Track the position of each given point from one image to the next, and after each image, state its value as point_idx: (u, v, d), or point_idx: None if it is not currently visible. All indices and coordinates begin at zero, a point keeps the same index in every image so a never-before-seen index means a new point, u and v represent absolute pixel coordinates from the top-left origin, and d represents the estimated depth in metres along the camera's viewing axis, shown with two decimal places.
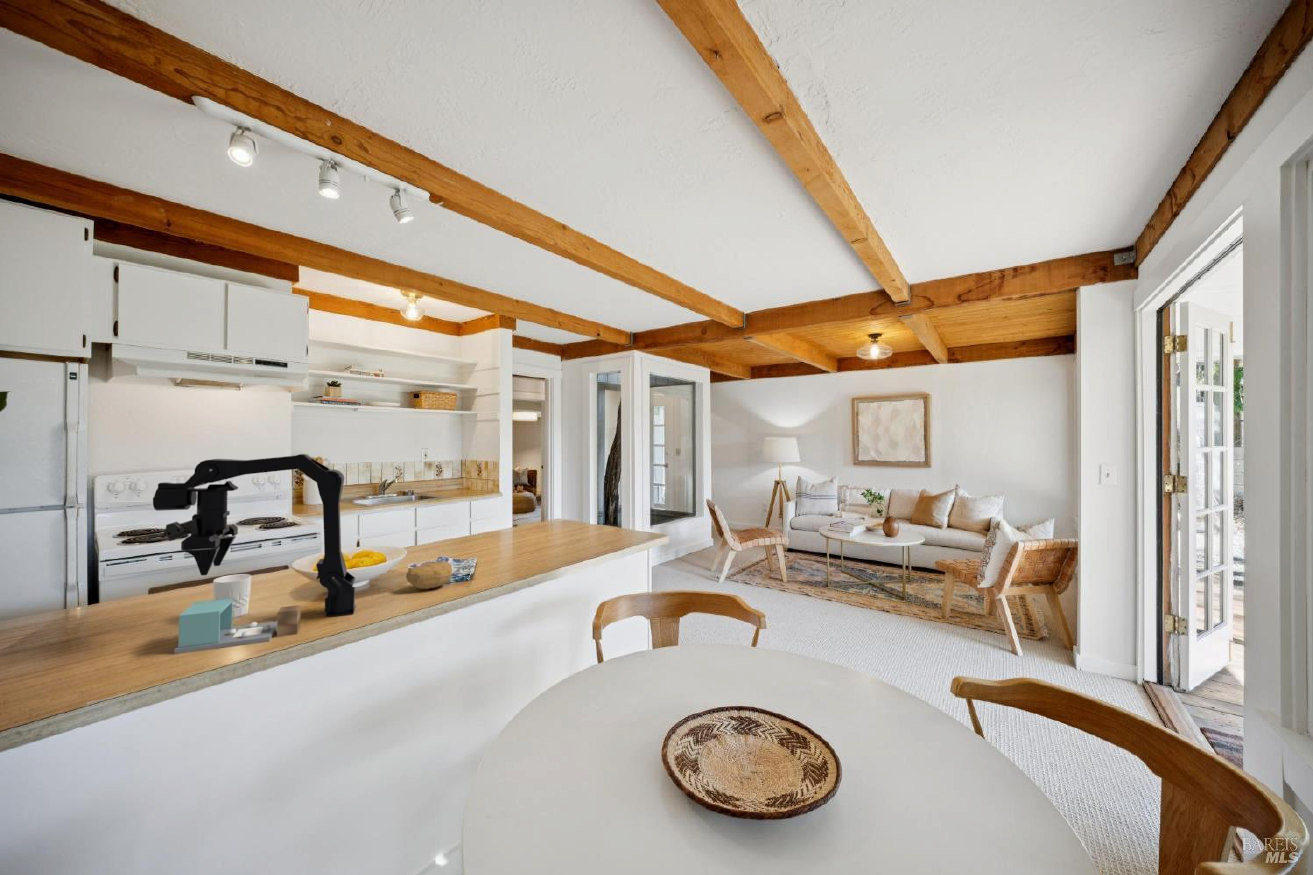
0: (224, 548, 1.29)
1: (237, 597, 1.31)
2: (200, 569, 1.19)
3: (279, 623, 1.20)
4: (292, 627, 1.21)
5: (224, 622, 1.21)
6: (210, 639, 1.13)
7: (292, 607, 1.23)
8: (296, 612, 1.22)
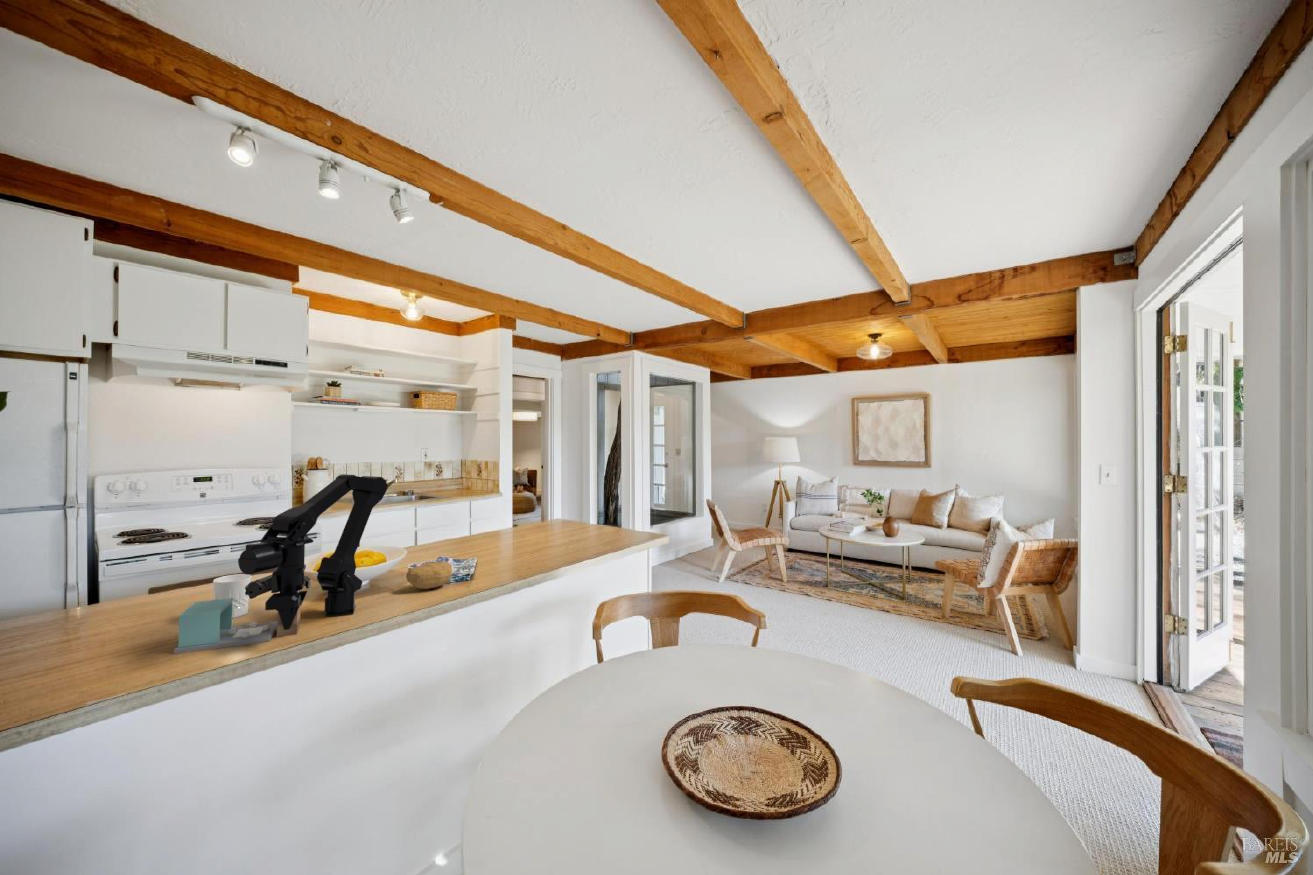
0: None
1: (237, 597, 1.31)
2: (283, 624, 1.20)
3: (279, 622, 1.20)
4: (292, 627, 1.21)
5: (224, 622, 1.21)
6: (210, 639, 1.13)
7: None
8: None
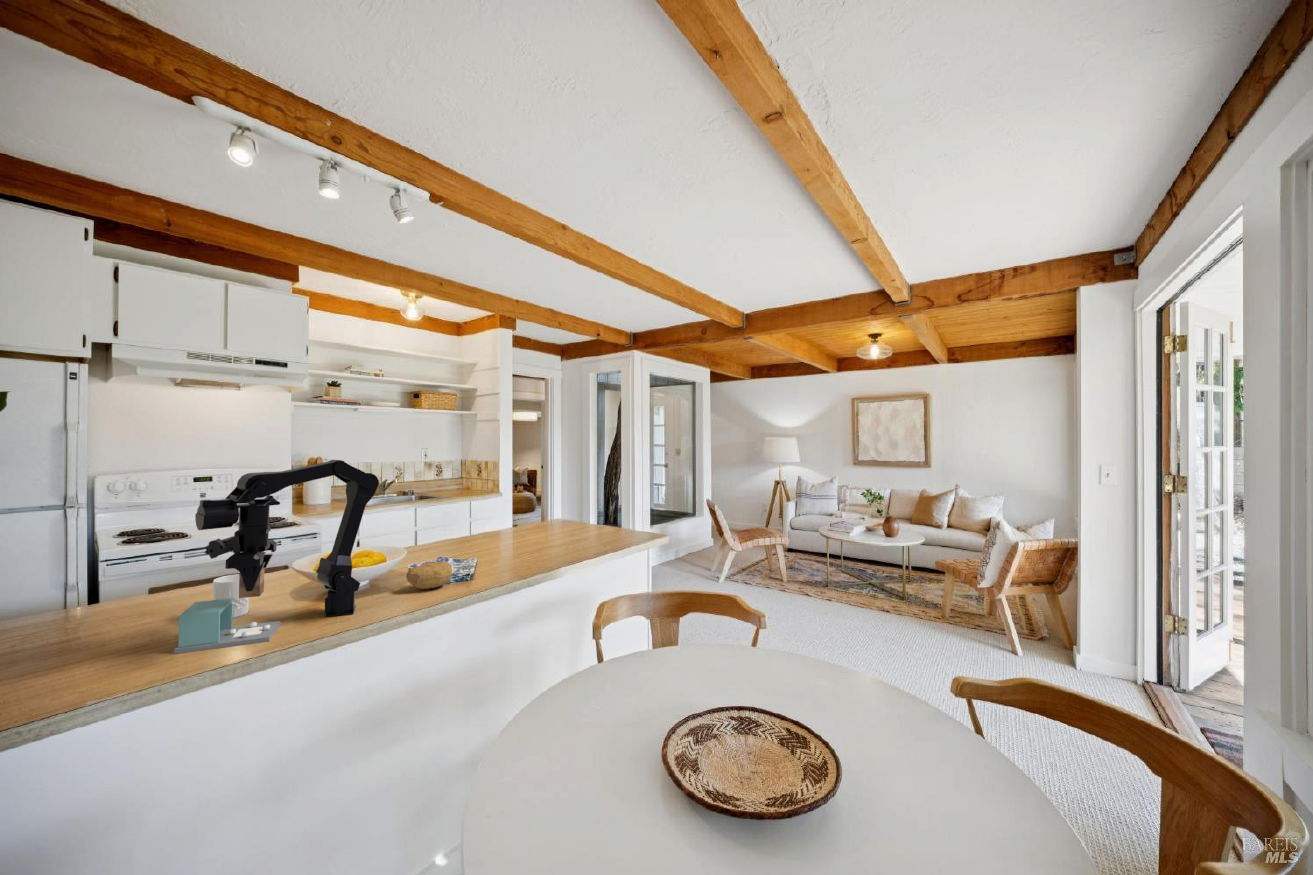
0: None
1: (237, 597, 1.31)
2: (246, 585, 1.17)
3: (241, 584, 1.17)
4: (255, 588, 1.18)
5: (224, 622, 1.21)
6: (210, 639, 1.13)
7: None
8: None
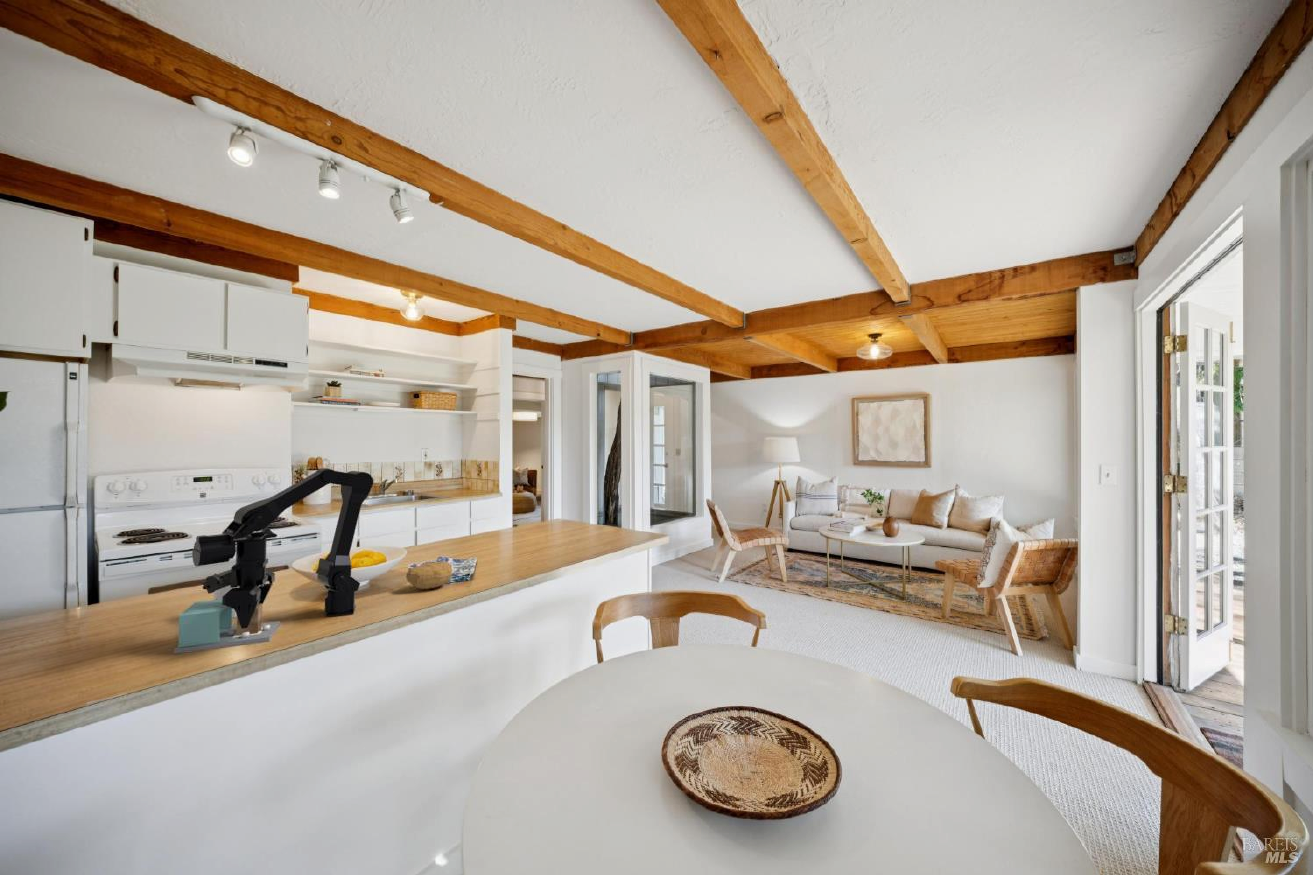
0: (262, 597, 1.25)
1: None
2: (241, 622, 1.15)
3: (238, 621, 1.17)
4: (252, 626, 1.18)
5: (224, 622, 1.21)
6: (210, 639, 1.13)
7: None
8: (257, 610, 1.19)
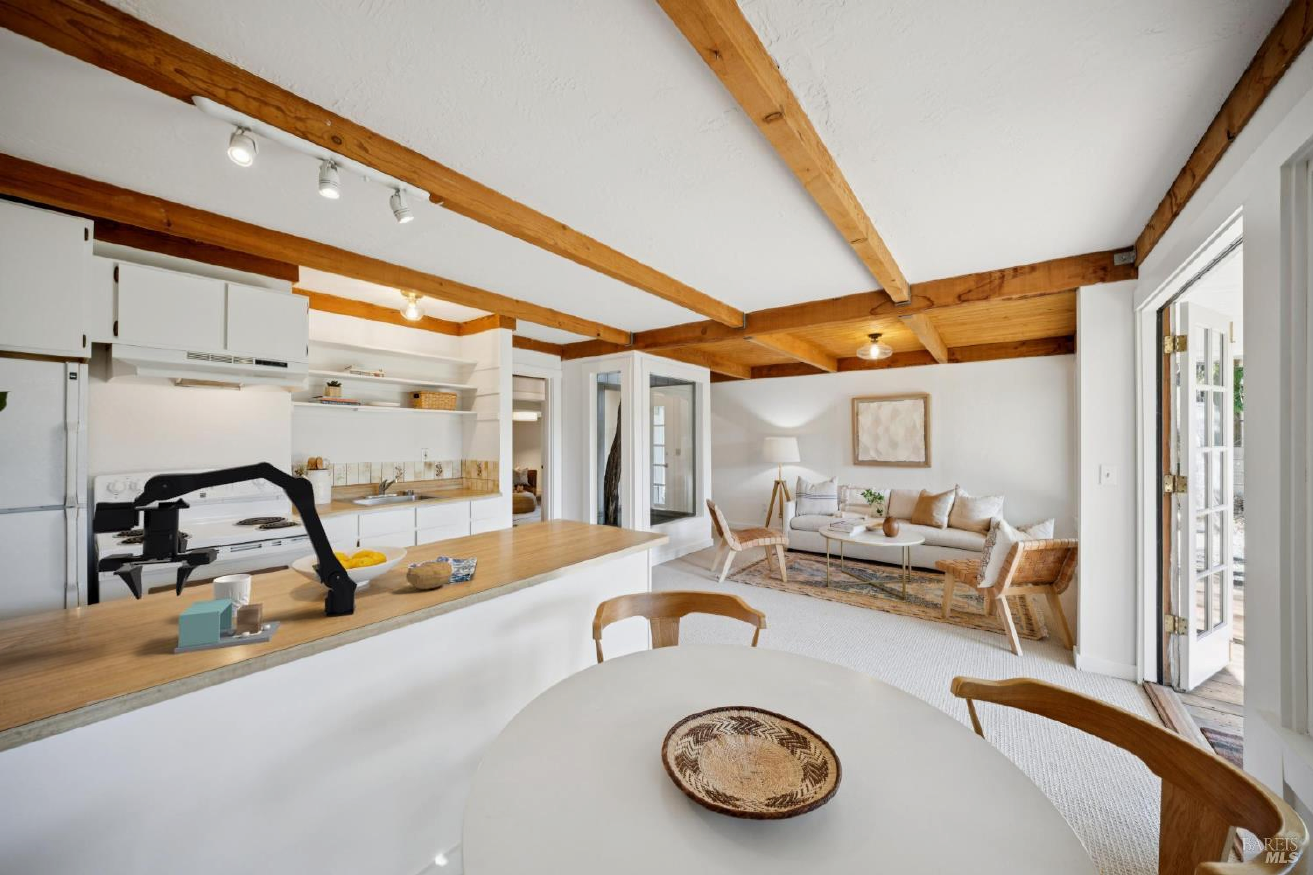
0: None
1: (237, 597, 1.31)
2: None
3: (238, 621, 1.17)
4: (252, 626, 1.18)
5: (224, 622, 1.21)
6: (210, 639, 1.13)
7: (254, 606, 1.20)
8: (257, 610, 1.19)
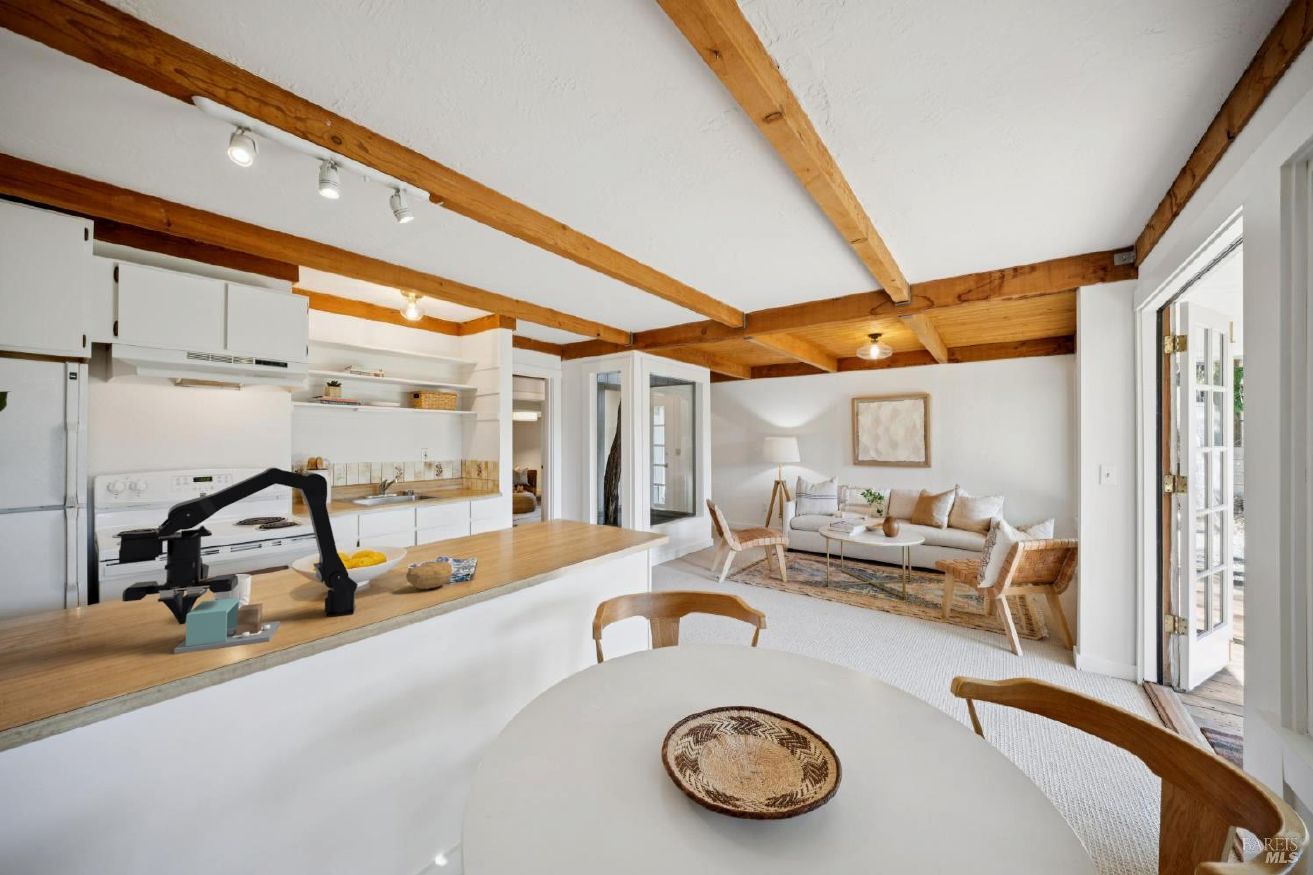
0: None
1: (237, 597, 1.31)
2: None
3: (238, 621, 1.17)
4: (252, 626, 1.18)
5: (230, 622, 1.22)
6: (217, 638, 1.13)
7: (254, 606, 1.20)
8: (257, 610, 1.19)
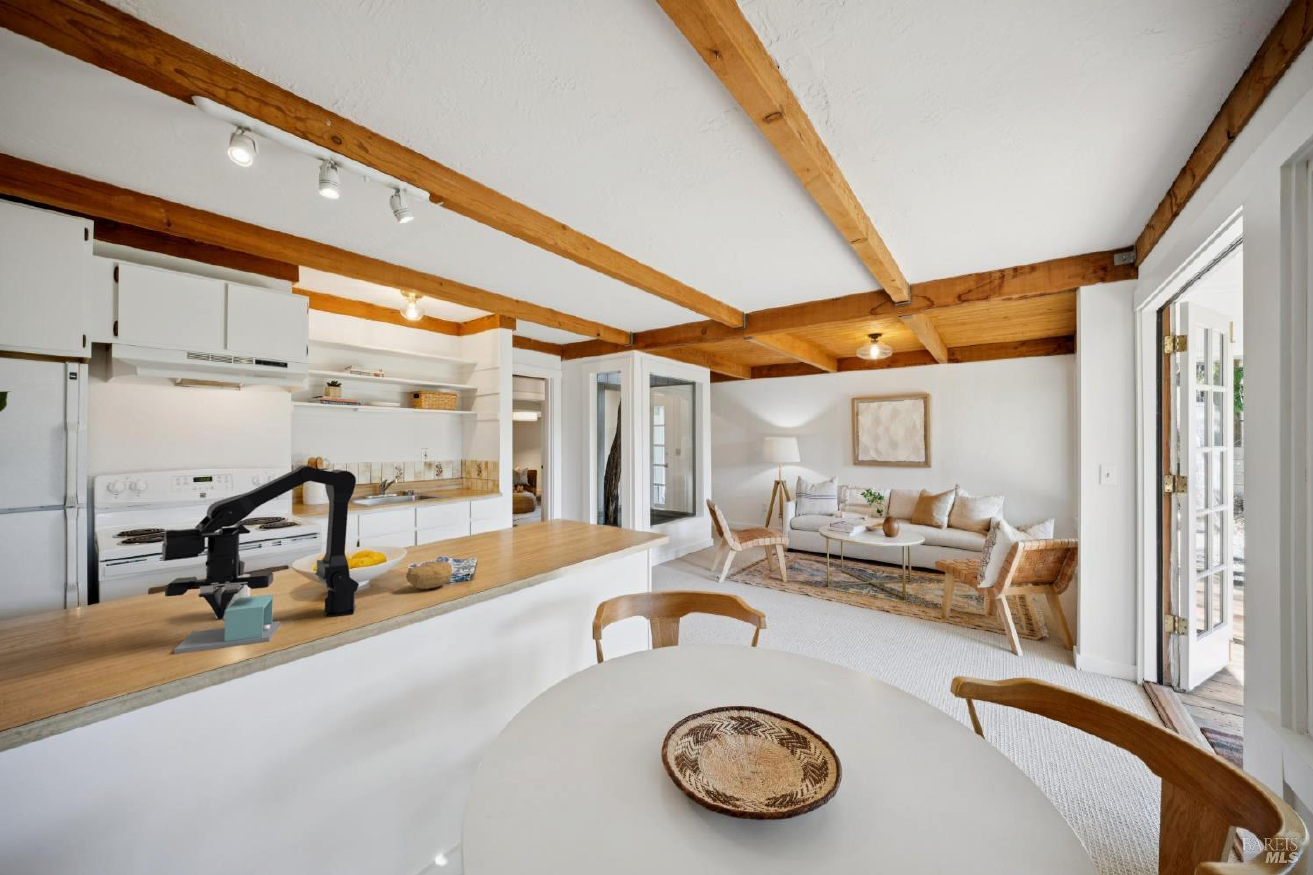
0: None
1: (237, 597, 1.31)
2: None
3: None
4: None
5: (265, 618, 1.25)
6: (254, 633, 1.16)
7: None
8: None
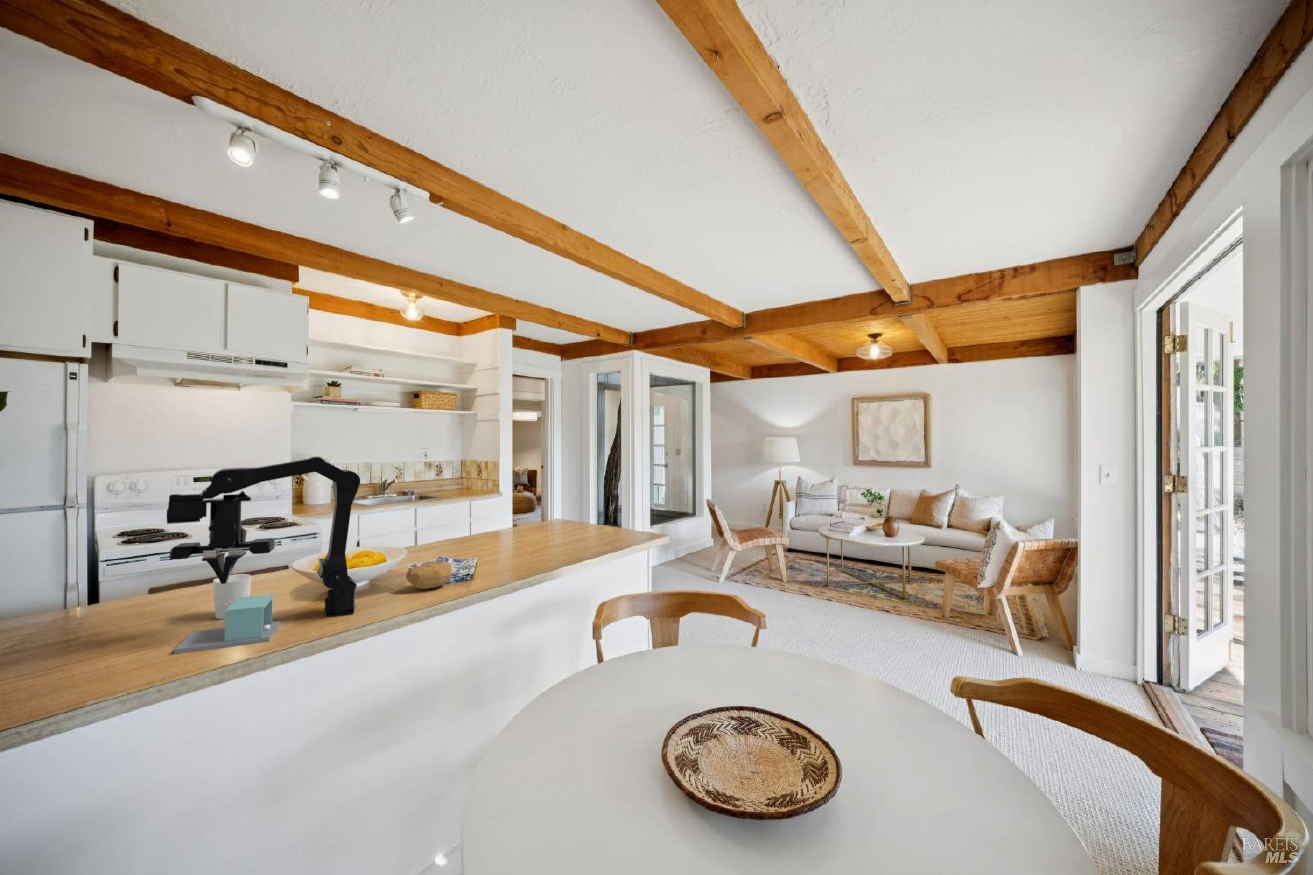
0: None
1: (237, 597, 1.31)
2: None
3: None
4: None
5: (265, 618, 1.25)
6: (254, 633, 1.16)
7: None
8: None
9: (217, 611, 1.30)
